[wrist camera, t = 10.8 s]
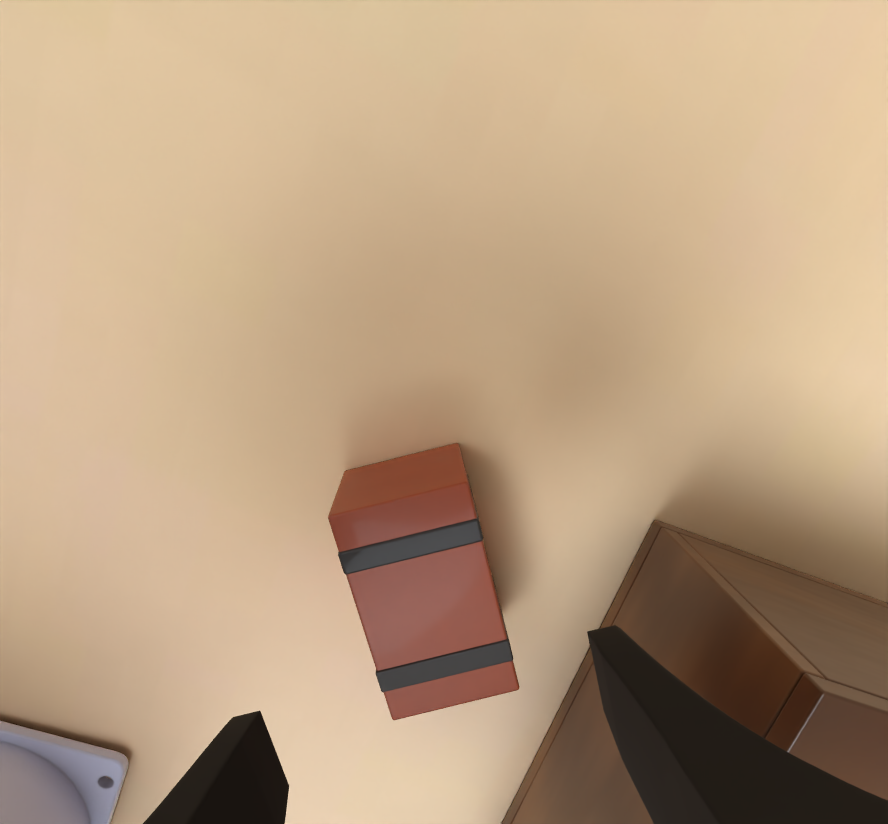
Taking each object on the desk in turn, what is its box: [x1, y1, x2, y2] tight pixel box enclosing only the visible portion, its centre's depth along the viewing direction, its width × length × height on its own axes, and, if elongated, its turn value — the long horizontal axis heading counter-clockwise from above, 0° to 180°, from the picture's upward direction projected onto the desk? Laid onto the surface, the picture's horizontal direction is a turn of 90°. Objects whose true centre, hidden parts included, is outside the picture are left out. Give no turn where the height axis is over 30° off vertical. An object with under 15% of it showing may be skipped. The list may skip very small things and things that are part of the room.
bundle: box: [328, 443, 519, 720], centre depth 17 cm, size 7×4×4 cm, turn 14°
